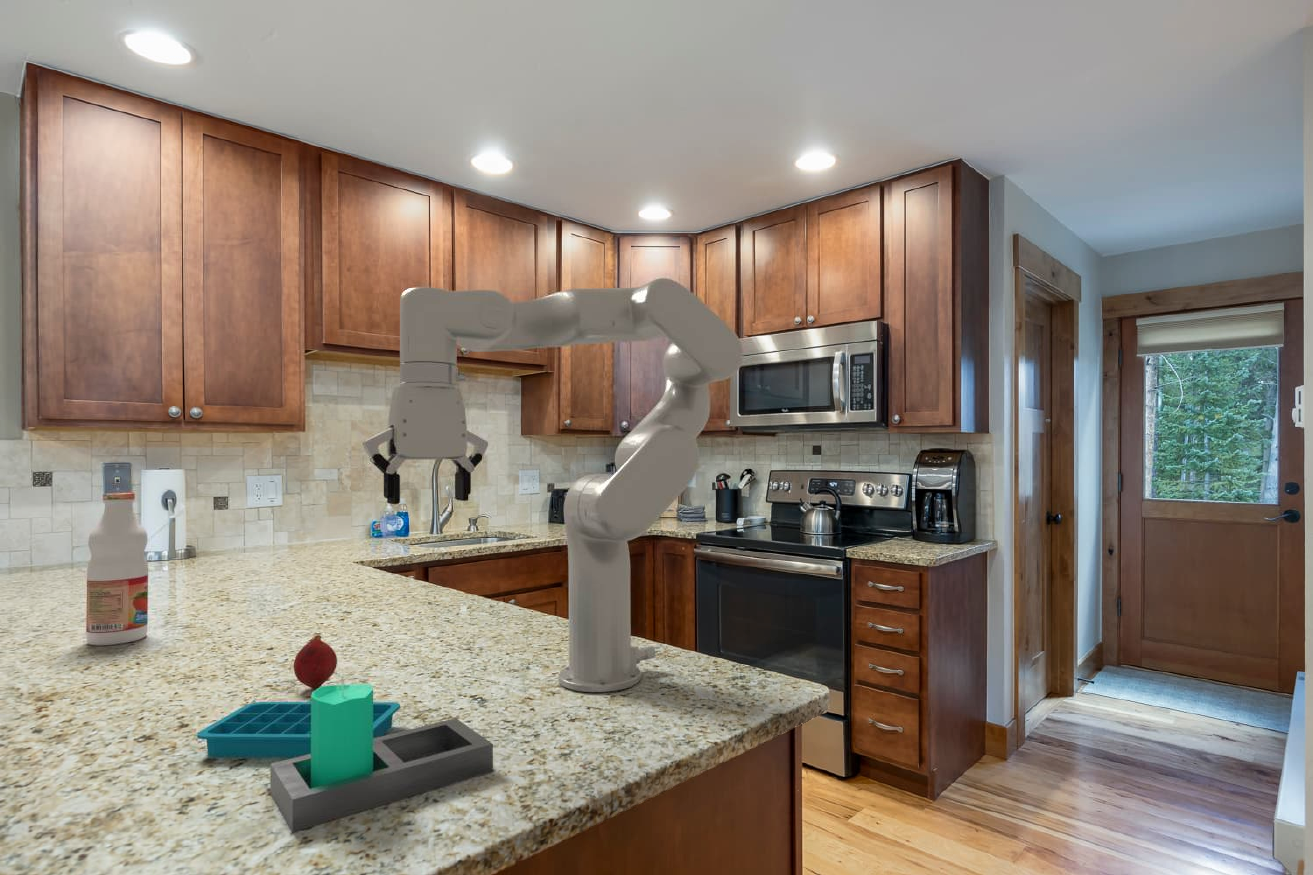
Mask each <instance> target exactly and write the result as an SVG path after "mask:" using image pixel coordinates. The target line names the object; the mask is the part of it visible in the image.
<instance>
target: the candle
mask: <svg viewBox="0 0 1313 875" xmlns="http://www.w3.org/2000/svg"><path fill="white" fill-rule="evenodd" d="M310 696H311V697H310V702H311V787H310V789H312V788H315V787H319V786H323V785H326V784H330V783H334V782H337V781H341V780H345V779H348V778H352V777H356V776H359V775H363V774H367V773H370V772H373V702H374V687H373V685H370V684H366V683H357V684H356V683H355V684H354V683H353V684H344V676H343V675H342V676H341V684H333V685H323V686H322V685H321V686H320V687H319V688H318V689H314V691H312V692H311V695H310Z"/></svg>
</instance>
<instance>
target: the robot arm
mask: <svg viewBox="0 0 1313 875" xmlns="http://www.w3.org/2000/svg"><path fill="white" fill-rule="evenodd" d="M664 336H665V337H666V338H667V339H668V340H669V341H670V342H671V343H670V344H669V345H668V347H667V349H666V350H665V353H664V356H663V364H662V365H663V366H662V367H663V372H664V374H663V375H664V380H665V381H664V382H665V387H664V389H665V390H664V393H663V395H662V397H661V399H659V401H658V403H657V404H656V405H655V406H654V407H653V409H651V411H650V412H649V413H647V415H645V417H644V418H643V419H642V420H641V421H640V422H639V423H638V424H637V425H636V426H634V427H633V429H632V430H631V431H630V432H629V433H627V435H626V436H625V437H624V438H623V439H622V440H621V442H620V443H619V444H618V446H617V447H616V451H615V454H614V465H615V468H616V472H615V473H614V474H611V473H609V474H608V473H593V474H588V475H584V476H583V477H580V478H579V479H577V480H576V481H574V483H573V484H572V485H571V486H570V487H569V489H568V491H567V493H566V495H565V497H564V498H565V499H564V502H563V520H564V527H565V535H566V541H567V542H566V543H567V554H568V556H567V560H568V563H567V564H568V666H566V667H564V668H562V670H560V671H559V673H558V683H559V684H560V685H561V686H563V687H564V688H566V689H569V690H572V691H577V692H583V693H607V692H615V691H620V690H625V689H627V688H630V687H633V686H635V685H637V684H639V682H640V681H641V679H642V673H641V670H640V668H639V667H638V666H637V665H639V664H640V663H641V661H647V660H652V659H654V658H656V655H657V652H656V649H655V647H654V646H652V645H650V646H645V647H641V648H639V646H637V645H635V646H632V644H631V641H632V640H631V639H632V636H631V635H632V634H631V631H632V630H631V628H632V627H631V557H630V549H629V544H628V542H629V541H632V540H634V539H636V538H638V537H639V538H640V536H642V535H643V534H645V532H647V531H648V530H649V529H650V528H652V526H653V525H654V524H655V523H656V522H657V521H658V519H659V518H660V517H661V516H662V515H663V514H664V513H665V512H666V511H667V509H669V508H670V507H671V505H672V504H673V503H674V502H675V500H677V499H678V498H679V496H680V495H681V494H682V493H683V492H684V491H685V489H686V488H687V487H688V486H689V485H690V484H691V482H692V480H693V479H694V477H695V475H696V473H697V470H698V469H699V468H698V467H699V463H700V449H699V445H698V442H697V440H696V439H697V437H698V436H699V435H700V434H701V432H702V431H703V430H704V428H705V427H706V425H707V423H708V420H709V417H710V413H711V412H710V411H711V400H710V399H711V398H710V396H711V395H710V388H709V387H710V386H709V383H710V384H711V383H717V382H722V381H725V380H727V379H729V378H731V377H733V376H734V375H736V373H737V372H738V371H739V370H740V368H741V367H742V364H743V360H744V348H743V344H742V342H741V340H740V338H739V337H738V335H737V333H736V332H735V331H734V330H733V329H732V328H731V327H730V326H729V325H728V324H727V323H726V321H724V320H723V319H722V318H721V317H719V315H718V314H716V313H715V312H714V311H713V310H712V309H711V308H710V307H709V306H708V305H706V303H704V302H703V301H702V300H701V299H700V298H699V297H697V296H696V295H695V294H694V293H693V292H692V291H690V290H689V289H688V288H687V287H685V286H684V285H682V284H681V283H680V282H677V281H676V280H673V279H671V278H665V277H663V278H662V277H661V278H656V279H654V280H651V281H649V282H648V283H647V282H646V283H645V284H643V285H641V286H639V287H615V288H611V287H610V288H609V287H608V288H606V287H604V288H602V287H601V288H600V287H599V288H597V287H596V288H594V287H593V288H581V287H580V288H572V289H571V288H570V289H566V290H561V291H557V292H555V293H551V294H549V295H545V296H543V297H540V298H539V297H538V298H534V299H529V300H525V301H517V302H516V301H515V302H512V301H511V300H510V299H509V298H508V297H507V296H505V295H504V294H503V293H500V291H499V292H498V291H495V290H490V289H474V290H473V289H470V290H447V289H443V288H438V287H431V286H429V287H428V286H417V287H416V286H415V287H412V288H407V289H406V290H404V291H403V292H402V294H401V296H400V299H399V386H394V387H393V389H392V393H391V396H390V397H391V399H390V404H389V411H388V419H387V429H385V430H383V431H382V432H380V433H377V434H376V435H373V436H371V437H369V438H367V439H365V440H363V442H362V447H363V448H364V450H365V452H366V454H367V456H368V457H369V460H370V462H371V463H372V464H373V465H374V466H375V467H376V468H377V469H378V470H379V471H380V472H381V474H383V496H384V499H386V503H387V504H389V505H390V504H391V505H399V504H400V503H401V475H400V474H399V473H398V469H399V468H400V467H401V466H402V465H403V463H404V462H405V461H406V460H450V461H451V462H452V463H453V465H454V466H455V467H456V468H457V469H458V470H457V471H455V474H454V500H456V501H464V502H467V501H469V495H471V492H472V485H471V484H472V483H471V482H472V478H471V477H472V475H471V474H472V473H473V472H474V470H475V468H476V467H477V466H479V464H480V463H481V461H483V457H484V455H485V454H486V453H485V452H486V451H487V448H488V447H489V441H487V440H485V439H483V438H482V437H480V436H478V435H476V434H474V433H472V432H471V431H469V430H468V428H467V417H466V416H467V415H466V408H465V403H464V399H463V393H462V389H460V388H457V386H458V385H459V383H464V382H466V379H467V378H466V377H467V375H466V373H465V372H461V371H459V367H458V366H457V365H458V364H457V359H458V358H457V357H458V356H457V354H458V352H457V346H458V347H460V348H462V349H464V350H467V351H469V352H470V351H471V352H474V353H475V352H476V353H478V352H479V353H481V352H482V353H483V352H500V351H501V352H503V351H505V352H506V351H516V350H517V351H519V350H528V349H530V350H531V349H538V348H541V349H542V348H562V347H571V346H577V345H578V346H579V345H596V344H609V343H610V344H612V343H613V344H614V343H616V344H617V343H633V342H647V341H652V340H655V339H658V338H661V337H664ZM384 443H386V452H387V453H386V454H387V456H388V458H387V459H386V458H385V457H384V456H383V455H382V454H381V453H380V450H379V446H380V445H382V444H384ZM468 444H471V445H472V446H473V451H472V453H471V454H470V455H469V456H467V452H468Z"/></svg>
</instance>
